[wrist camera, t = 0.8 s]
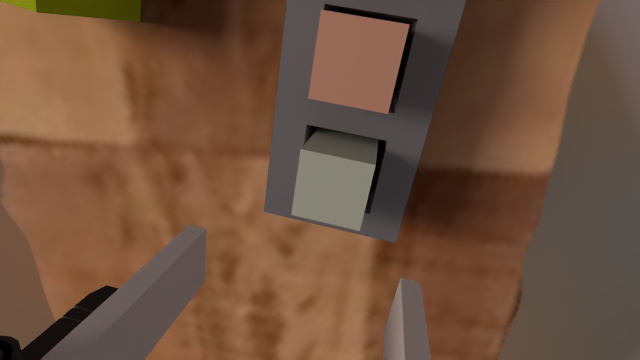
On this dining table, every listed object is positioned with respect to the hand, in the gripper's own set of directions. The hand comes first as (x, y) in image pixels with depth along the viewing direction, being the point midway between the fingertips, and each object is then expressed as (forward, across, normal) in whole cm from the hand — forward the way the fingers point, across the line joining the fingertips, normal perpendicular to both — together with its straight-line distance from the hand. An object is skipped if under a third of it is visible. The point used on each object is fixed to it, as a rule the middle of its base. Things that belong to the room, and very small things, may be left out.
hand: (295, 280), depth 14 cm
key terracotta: (+17, 0, +8) cm, 19 cm away
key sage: (+17, 0, 0) cm, 17 cm away
